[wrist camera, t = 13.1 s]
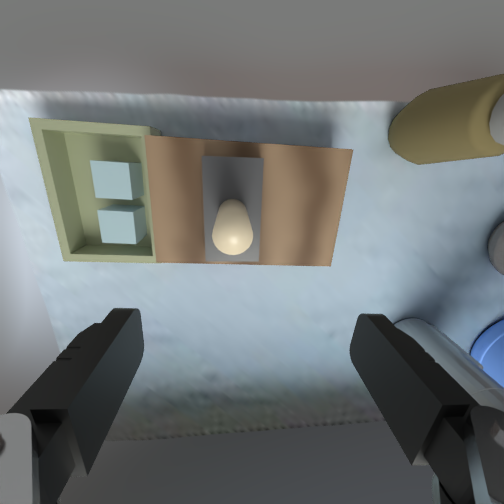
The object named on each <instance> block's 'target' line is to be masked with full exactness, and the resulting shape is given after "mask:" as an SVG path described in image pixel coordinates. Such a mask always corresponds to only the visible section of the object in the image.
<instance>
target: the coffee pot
mask: <svg viewBox="0 0 504 504" xmlns="http://www.w3.org/2000/svg"><path fill="white" fill-rule="evenodd" d="M488 251H489V257H490V262H491V263H492V265H493V266H494V268H495V269H496V270H497V271H498V272H500V273H501V274H503V275H504V221H503V222H502V223H501V224H499V225H498V226H497V228H496V229H495V230H494V231H493V233H492V235H491V236H490V239H489V242H488Z"/></svg>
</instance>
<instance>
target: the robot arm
mask: <svg viewBox="0 0 504 504" xmlns="http://www.w3.org/2000/svg"><path fill="white" fill-rule="evenodd" d="M143 352H144V340H143V331H142V322H141V314H140V311H139V309H132V308H114V309H112V311H111V312H110V313H109V314H108V315H107V316H106V318H105V319H104V320H103V321H102V323H94V324H93V325H91V326H90V327H88V328H87V329H85V330H84V331H82V332H80V333H79V334H78V335H77V336H76V337H75V338H74V339H73V340H72V342H71V343H70V344H69V345H68V346H67V348H66V350H63V351H62V353H61V354H60V355H59V356H58V357H57V359H56V361H54V362H53V363H52V364H51V365H50V366H49V367H48V368H47V369H46V370H45V371H44V373H43V374H42V375H41V376H40V377H39V378H38V379H37V380H36V381H35V382H34V384H33V385H32V386H31V387H30V388H29V389H28V390H27V391H26V392H25V394H24V395H23V396H22V397H21V398H20V399H19V400H18V401H17V403H16V404H15V405H14V406H13V407H12V408H11V409H10V410H9V411H8V412H7V413H6V414H3V415H0V504H61V501H60V495H61V493H62V491H63V489H64V487H65V485H66V483H67V481H68V479H69V478H70V477H79V476H80V477H81V476H88V474H89V472H90V470H91V468H92V465H93V463H94V461H95V459H96V457H97V455H98V452H99V450H100V448H101V446H102V444H103V442H104V440H105V438H106V436H107V433H108V431H109V429H110V427H111V425H112V423H113V421H114V418H115V416H116V414H117V412H118V410H119V408H120V406H121V404H122V401H123V399H124V397H125V395H126V393H127V391H128V389H129V386H130V384H131V382H132V380H133V378H134V376H135V374H136V371H137V369H138V367H139V365H140V363H141V360H142V357H143ZM350 357H351V360H352V363H353V365H354V367H355V368H356V370H357V372H358V373H359V375H360V377H361V379H362V380H363V382H364V384H365V386H366V387H367V389H368V391H369V392H370V394H371V396H372V398H373V399H374V401H375V403H376V405H377V406H378V408H379V410H380V411H381V413H382V415H383V417H384V418H385V420H386V422H387V424H388V425H389V427H390V429H391V430H392V432H393V434H394V436H395V437H396V439H397V441H398V442H399V444H400V446H401V448H402V449H403V451H404V453H405V454H406V456H407V458H408V460H409V462H410V463H411V465H430V466H431V468H432V469H433V471H434V472H435V474H434V476H433V479H432V497H433V498H432V499H433V504H504V387H502V386H501V385H500V384H499V383H498V382H496V381H495V380H494V379H493V378H492V377H491V376H489V375H488V374H487V373H486V372H485V371H483V366H482V365H481V364H480V363H479V362H478V361H477V360H475V359H474V358H473V357H472V356H471V355H469V354H468V353H467V352H466V351H464V350H463V349H462V348H461V347H460V346H458V345H457V344H456V343H455V342H453V341H452V340H451V339H450V338H449V337H447V336H446V335H445V334H444V333H442V332H441V331H440V330H439V329H438V328H436V327H435V326H434V325H428V324H427V323H426V322H425V321H423V320H421V319H417V318H409V319H405V320H402V321H399V322H397V323H396V324H394V325H393V323H392V322H391V321H390V320H389V319H388V318H387V317H386V316H385V315H383V314H360V315H359V316H358V319H357V322H356V326H355V330H354V333H353V337H352V340H351V344H350Z"/></svg>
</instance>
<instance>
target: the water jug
mask: <svg viewBox="0 0 504 504" xmlns="http://www.w3.org/2000/svg"><path fill="white" fill-rule="evenodd" d="M470 355H471V356H472V357H473V358H474V359H475V360H477V361H478V362H479V363H480V364H481V365H482V366H483V371H485V372H486V373H487V374H488V375H489V376H491V377H492V378H493V379H494V380H495V381H496V382H498V383H499V384H500V385H501V386H502V387H504V320H501V321H499V322H498V323H496V324H494V325H493V326H491V327H490V328H488V329H487V330H486V331H485V332H484V333H483V334H482V335H481V336H480V337H479V338H478V339H477V341H476V342H475V344H474V346H473V348H472V350H471V354H470Z"/></svg>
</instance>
